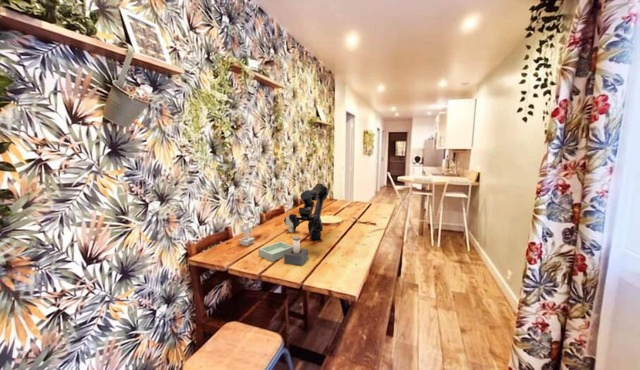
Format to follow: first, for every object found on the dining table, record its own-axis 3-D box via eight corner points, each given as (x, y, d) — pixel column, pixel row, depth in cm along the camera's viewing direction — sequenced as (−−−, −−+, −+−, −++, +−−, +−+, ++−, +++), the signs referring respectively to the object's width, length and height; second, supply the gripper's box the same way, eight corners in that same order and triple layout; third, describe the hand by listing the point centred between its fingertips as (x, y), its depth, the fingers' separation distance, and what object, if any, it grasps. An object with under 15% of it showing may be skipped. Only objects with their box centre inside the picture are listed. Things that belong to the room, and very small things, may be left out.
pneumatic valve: (295, 234, 183) (295, 217, 181) (283, 231, 190) (283, 215, 188) (300, 232, 188) (300, 216, 186) (289, 229, 194) (288, 213, 193)
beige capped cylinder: (298, 258, 143) (298, 236, 141) (300, 261, 139) (300, 238, 138) (292, 259, 141) (292, 237, 139) (294, 262, 138) (294, 239, 136)
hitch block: (291, 255, 146) (291, 247, 146) (308, 258, 144) (308, 249, 143) (284, 263, 137) (284, 254, 136) (301, 265, 134) (301, 256, 133)
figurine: (256, 242, 166) (255, 220, 164) (246, 247, 157) (246, 224, 155) (247, 241, 169) (246, 218, 167) (237, 246, 160) (236, 222, 158)
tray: (280, 247, 158) (280, 241, 158) (293, 252, 150) (293, 246, 150) (258, 255, 146) (258, 248, 146) (272, 261, 139) (271, 254, 138)
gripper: (289, 200, 151) (282, 223, 142) (320, 202, 146) (314, 227, 137) (294, 210, 160) (287, 233, 151) (323, 212, 154) (318, 236, 146)
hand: (301, 232), depth 146 cm, fingers open, 9 cm apart
